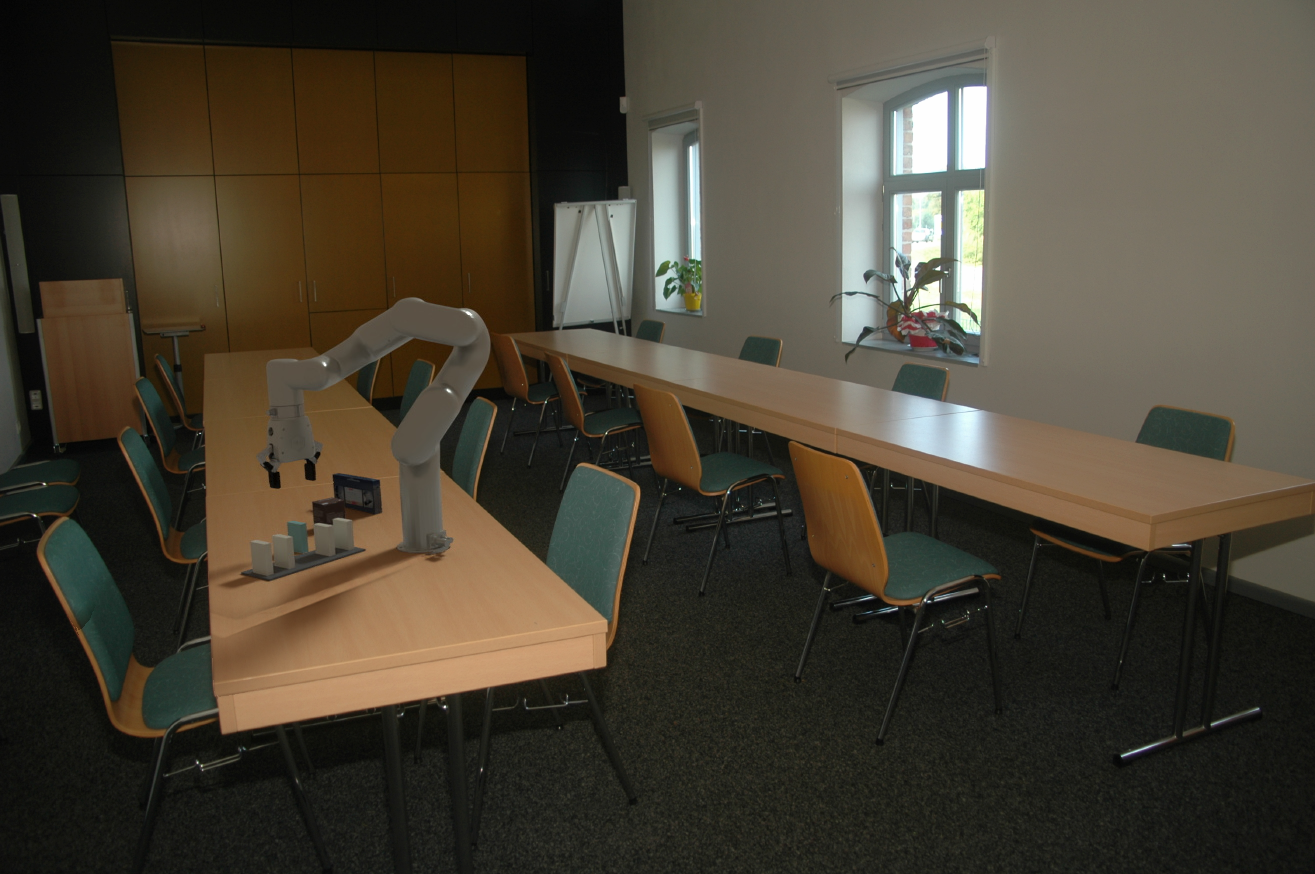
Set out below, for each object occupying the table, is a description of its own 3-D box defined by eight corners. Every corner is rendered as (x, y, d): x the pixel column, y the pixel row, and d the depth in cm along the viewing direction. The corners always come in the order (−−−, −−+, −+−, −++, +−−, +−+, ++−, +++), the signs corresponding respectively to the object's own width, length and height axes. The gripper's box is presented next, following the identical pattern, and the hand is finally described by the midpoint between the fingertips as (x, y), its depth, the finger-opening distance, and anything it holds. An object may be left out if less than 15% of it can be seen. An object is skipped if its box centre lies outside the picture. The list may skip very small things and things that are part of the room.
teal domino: (295, 548, 223) (292, 520, 222) (308, 551, 221) (306, 523, 219) (289, 550, 222) (286, 522, 221) (302, 553, 219) (300, 524, 218)
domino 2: (280, 563, 210) (278, 533, 208) (295, 567, 207) (292, 536, 206) (274, 565, 208) (272, 535, 207) (289, 569, 206) (286, 538, 205)
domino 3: (321, 551, 219) (319, 522, 218) (335, 554, 216) (333, 525, 215) (315, 553, 218) (313, 524, 216) (329, 556, 215) (327, 527, 214)
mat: (365, 550, 221) (365, 548, 221) (269, 580, 199) (269, 579, 199) (337, 544, 226) (337, 543, 226) (241, 573, 204) (240, 572, 204)
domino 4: (340, 545, 223) (338, 517, 222) (354, 548, 221) (352, 520, 220) (334, 547, 222) (332, 519, 221) (348, 550, 219) (346, 521, 218)
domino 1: (259, 570, 205) (256, 539, 204) (273, 573, 202) (270, 542, 201) (252, 572, 204) (250, 541, 203) (267, 575, 201) (264, 544, 200)
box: (334, 523, 246) (332, 496, 245) (347, 527, 242) (345, 500, 241) (313, 528, 242) (311, 501, 240) (326, 532, 238) (323, 504, 237)
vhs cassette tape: (334, 508, 264) (331, 473, 262) (343, 506, 266) (341, 472, 265) (374, 517, 253) (371, 481, 251) (383, 514, 255) (380, 479, 254)
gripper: (264, 418, 207) (271, 493, 209) (328, 408, 221) (334, 478, 224) (244, 416, 210) (250, 489, 213) (308, 406, 225) (313, 475, 228)
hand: (293, 484), depth 219 cm, fingers open, 9 cm apart
